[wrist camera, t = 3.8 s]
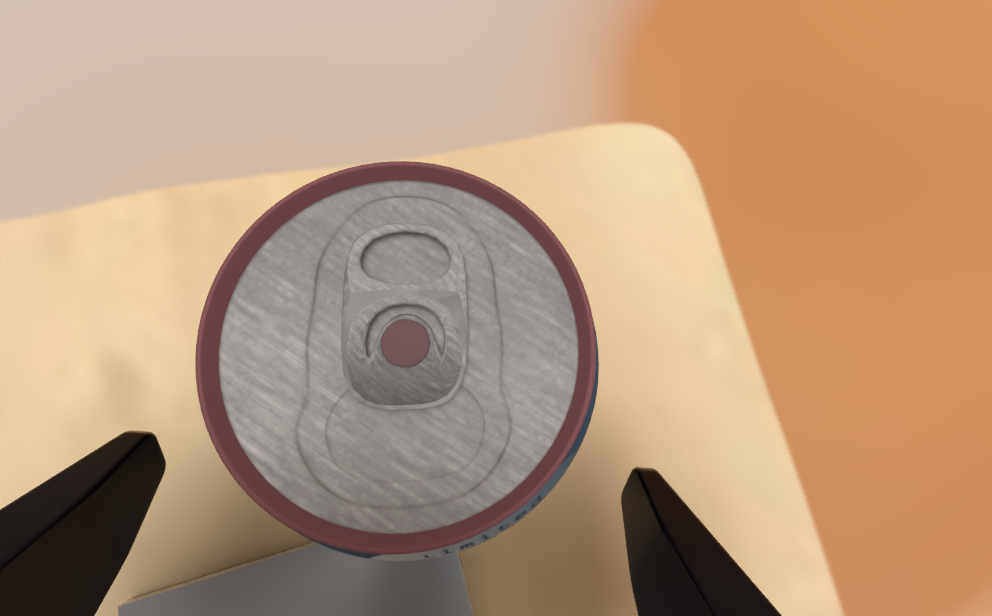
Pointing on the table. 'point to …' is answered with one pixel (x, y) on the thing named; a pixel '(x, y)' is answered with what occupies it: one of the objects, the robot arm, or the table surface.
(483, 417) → the soda can
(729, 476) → the table surface
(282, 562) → the coaster
